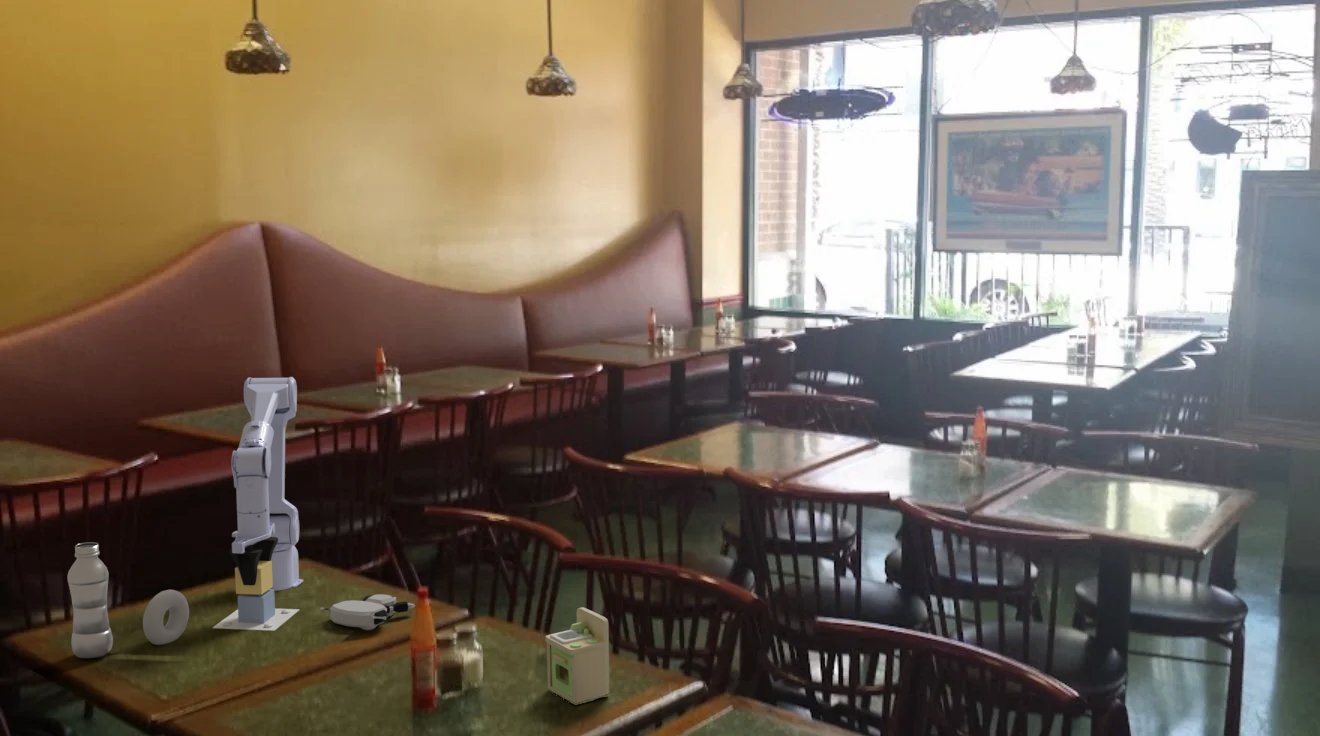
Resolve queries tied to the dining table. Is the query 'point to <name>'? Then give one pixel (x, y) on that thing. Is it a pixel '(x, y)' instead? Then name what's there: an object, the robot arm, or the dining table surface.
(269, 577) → the mustard block
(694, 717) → the dining table surface
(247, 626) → the plate
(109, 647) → the plastic bottle
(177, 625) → the donut
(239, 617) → the slate block
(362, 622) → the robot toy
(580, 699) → the toy sink
